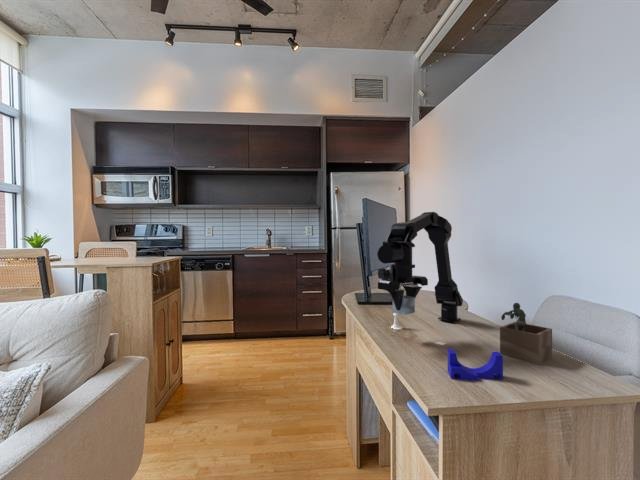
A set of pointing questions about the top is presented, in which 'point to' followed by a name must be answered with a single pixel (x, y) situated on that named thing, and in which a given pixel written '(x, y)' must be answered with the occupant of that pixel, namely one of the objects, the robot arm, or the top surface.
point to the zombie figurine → (517, 313)
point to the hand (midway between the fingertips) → (403, 309)
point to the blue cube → (406, 305)
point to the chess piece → (396, 322)
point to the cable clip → (474, 373)
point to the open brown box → (526, 343)
